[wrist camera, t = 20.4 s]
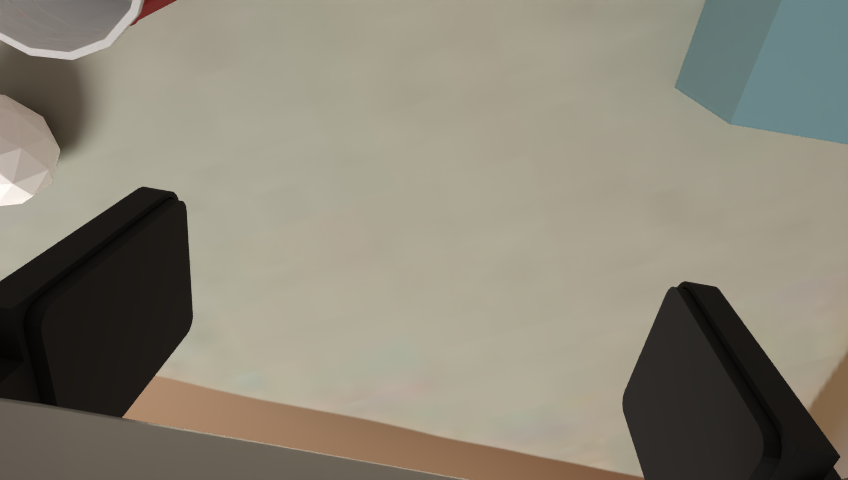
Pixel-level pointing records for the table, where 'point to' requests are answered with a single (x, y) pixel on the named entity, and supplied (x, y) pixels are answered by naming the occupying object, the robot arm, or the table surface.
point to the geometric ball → (24, 153)
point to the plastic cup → (69, 24)
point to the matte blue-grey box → (772, 65)
